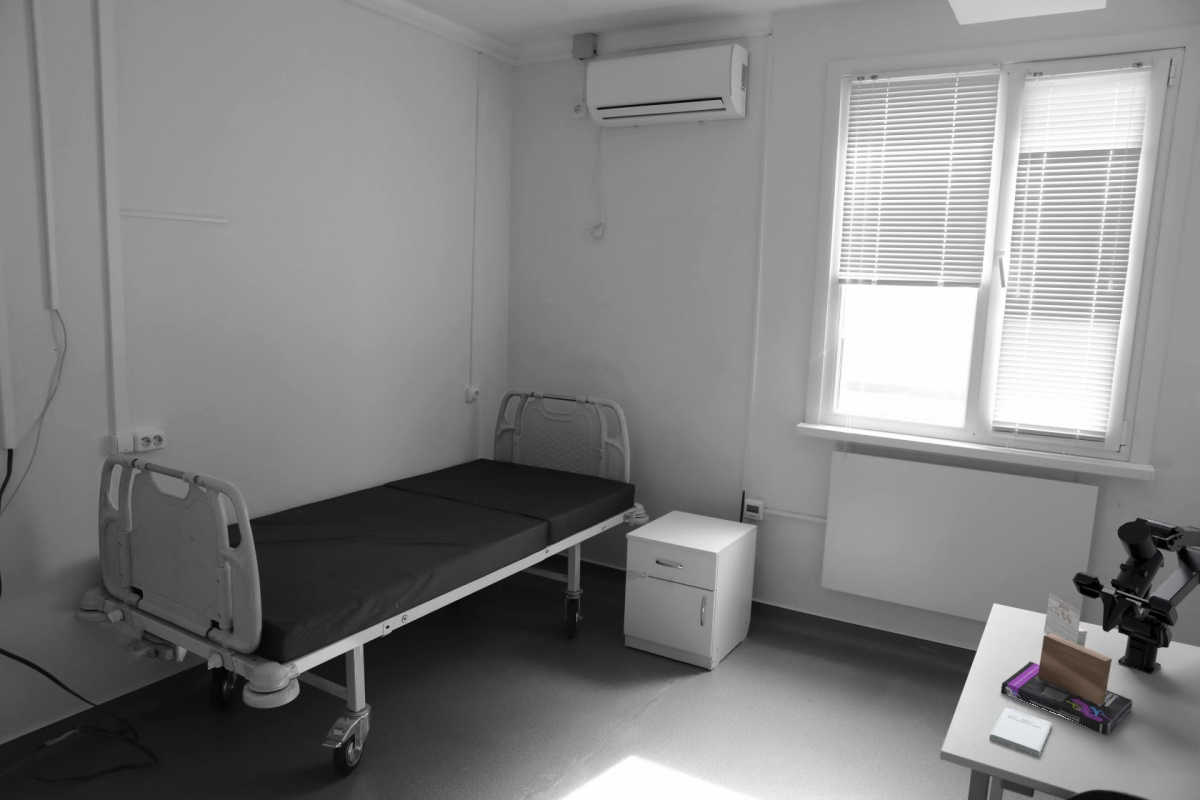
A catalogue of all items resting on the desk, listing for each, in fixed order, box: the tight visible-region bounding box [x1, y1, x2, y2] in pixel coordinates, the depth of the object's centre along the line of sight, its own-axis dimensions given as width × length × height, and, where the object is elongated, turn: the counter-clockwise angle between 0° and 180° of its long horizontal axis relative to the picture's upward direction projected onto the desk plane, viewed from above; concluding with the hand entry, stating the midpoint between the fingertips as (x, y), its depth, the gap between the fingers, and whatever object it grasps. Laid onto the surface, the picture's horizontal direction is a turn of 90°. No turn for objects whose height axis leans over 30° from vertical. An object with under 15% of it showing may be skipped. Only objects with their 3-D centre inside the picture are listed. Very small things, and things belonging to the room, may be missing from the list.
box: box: [1000, 661, 1133, 736], centre depth 163 cm, size 14×4×20 cm
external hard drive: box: [989, 707, 1053, 757], centre depth 151 cm, size 2×8×12 cm
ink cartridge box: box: [1043, 592, 1088, 647], centre depth 190 cm, size 2×11×10 cm, turn 7°
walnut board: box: [1038, 633, 1113, 705], centre depth 162 cm, size 2×12×9 cm, turn 31°
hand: (1104, 630), depth 168 cm, fingers closed
